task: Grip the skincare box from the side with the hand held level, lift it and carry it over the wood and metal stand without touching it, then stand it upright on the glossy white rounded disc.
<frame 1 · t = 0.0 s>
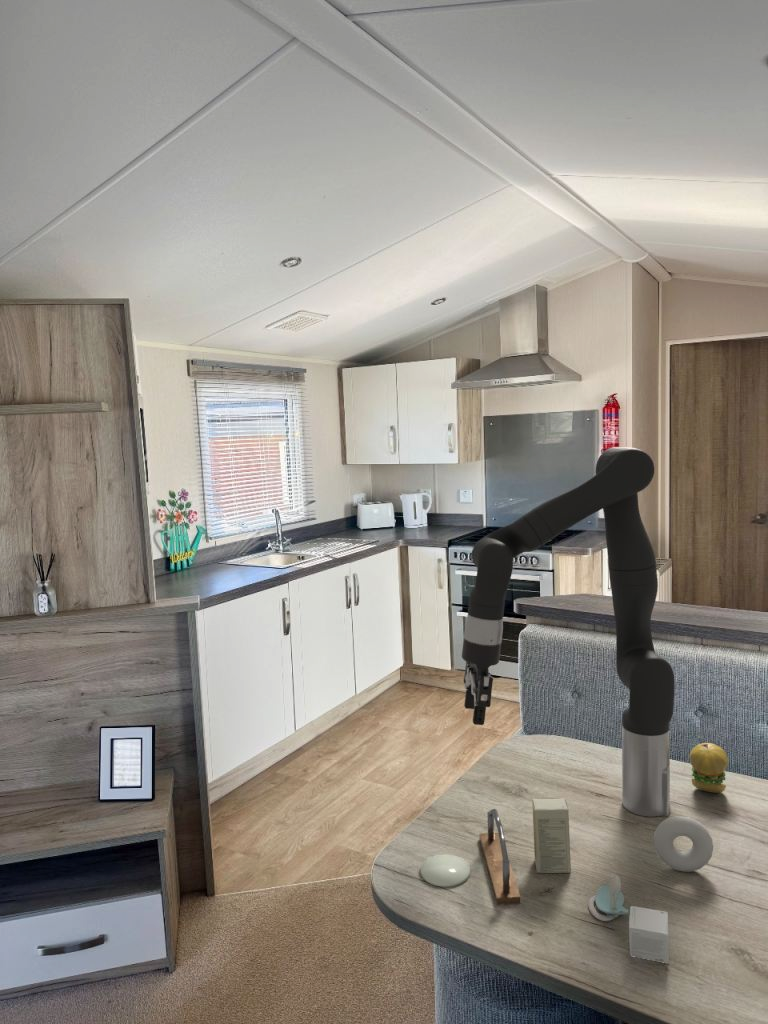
hand: (473, 715, 150), 22 cm above the table, tool pointing down, fingers open, 8 cm apart
glossy white rounded disc: (445, 871, 135), on the table
hamburger: (708, 794, 159), on the table
pacifier: (607, 912, 123), on the table
wood and metal stand: (498, 869, 135), on the table
skincare box: (551, 867, 135), on the table
small box: (649, 950, 113), on the table
donut: (682, 871, 133), on the table
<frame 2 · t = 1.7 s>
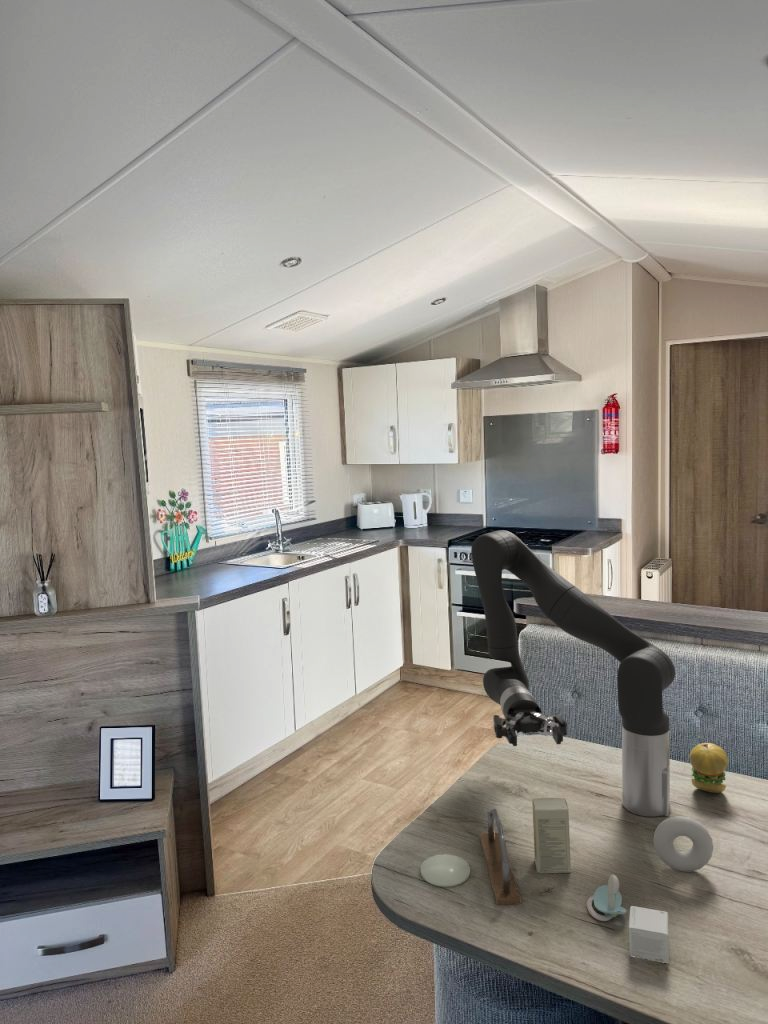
hand: (537, 740, 143), 20 cm above the table, tool horizontal, fingers open, 8 cm apart
nothing on the table moved.
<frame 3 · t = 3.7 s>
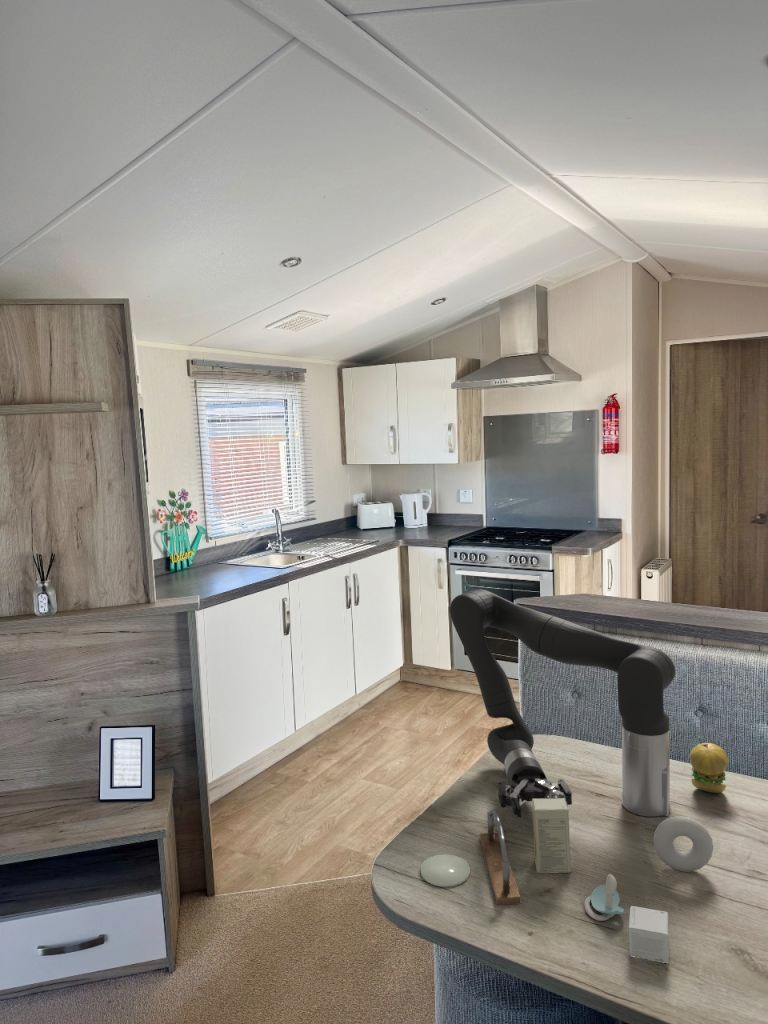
hand: (541, 812, 142), 7 cm above the table, tool horizontal, fingers open, 8 cm apart
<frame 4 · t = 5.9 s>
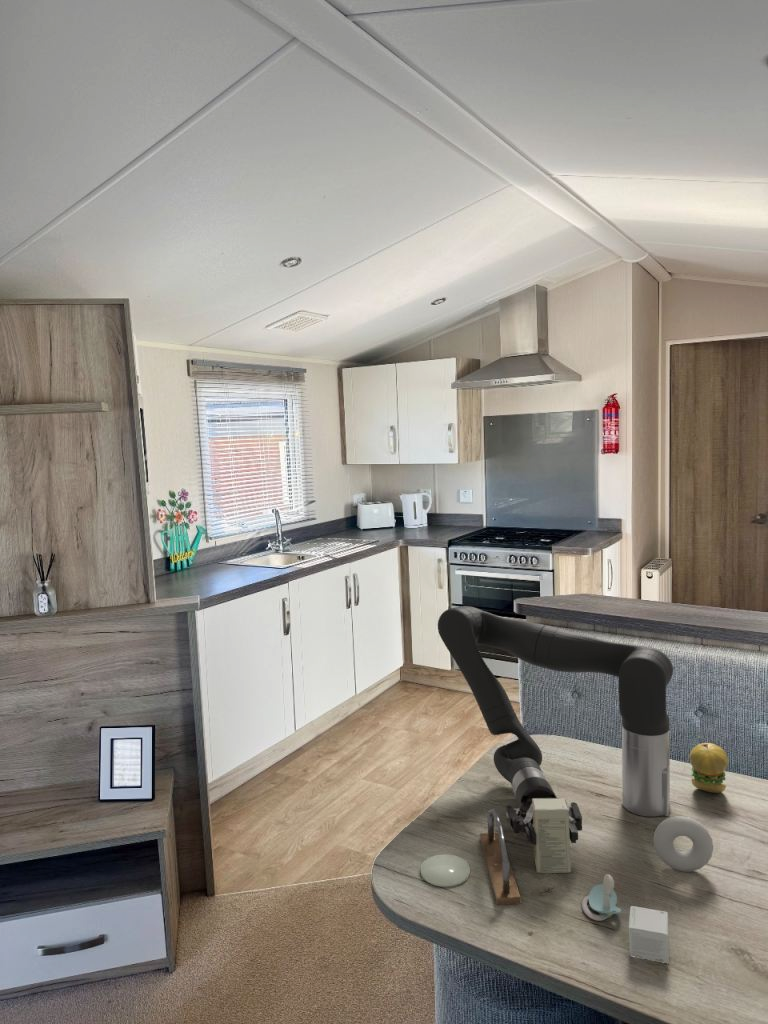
hand: (554, 839, 132), 7 cm above the table, tool horizontal, fingers closed on skincare box, 6 cm apart
skincare box: (551, 867, 135), on the table, touching gripper
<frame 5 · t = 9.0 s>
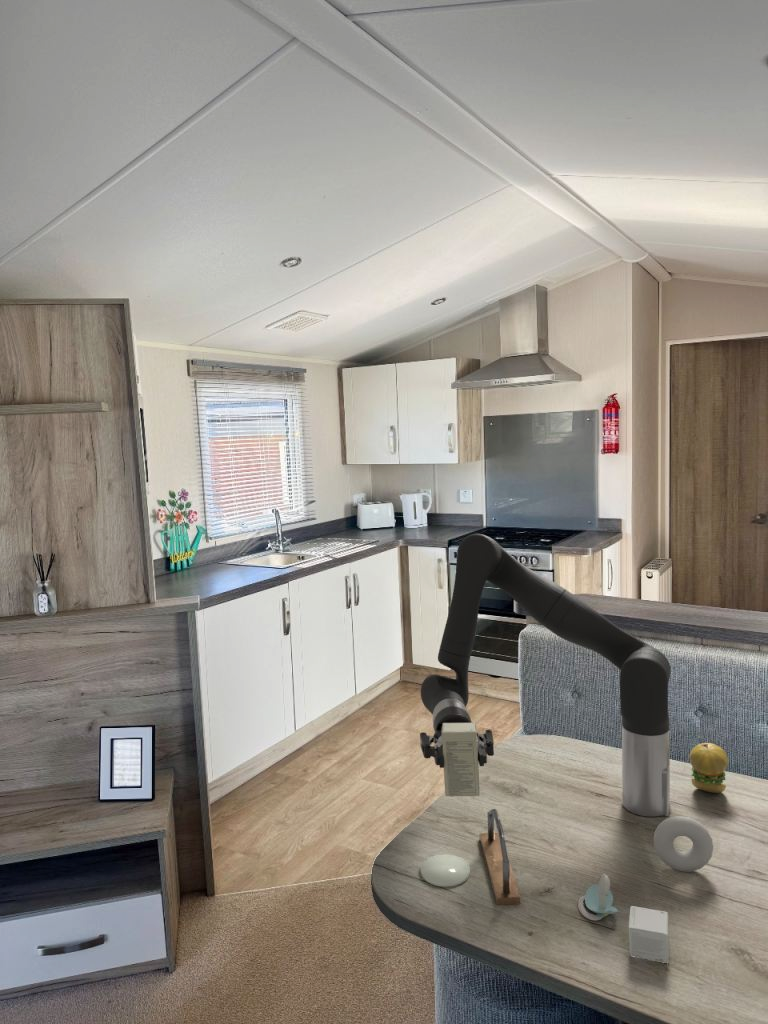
hand: (462, 762, 131), 22 cm above the table, tool horizontal, fingers closed on skincare box, 6 cm apart
skincare box: (461, 792, 134), point 15 cm above the table, touching gripper
when the fingers open (8 cm above the table, at t = 12.6 s): skincare box drops 1 cm, resting on glossy white rounded disc.
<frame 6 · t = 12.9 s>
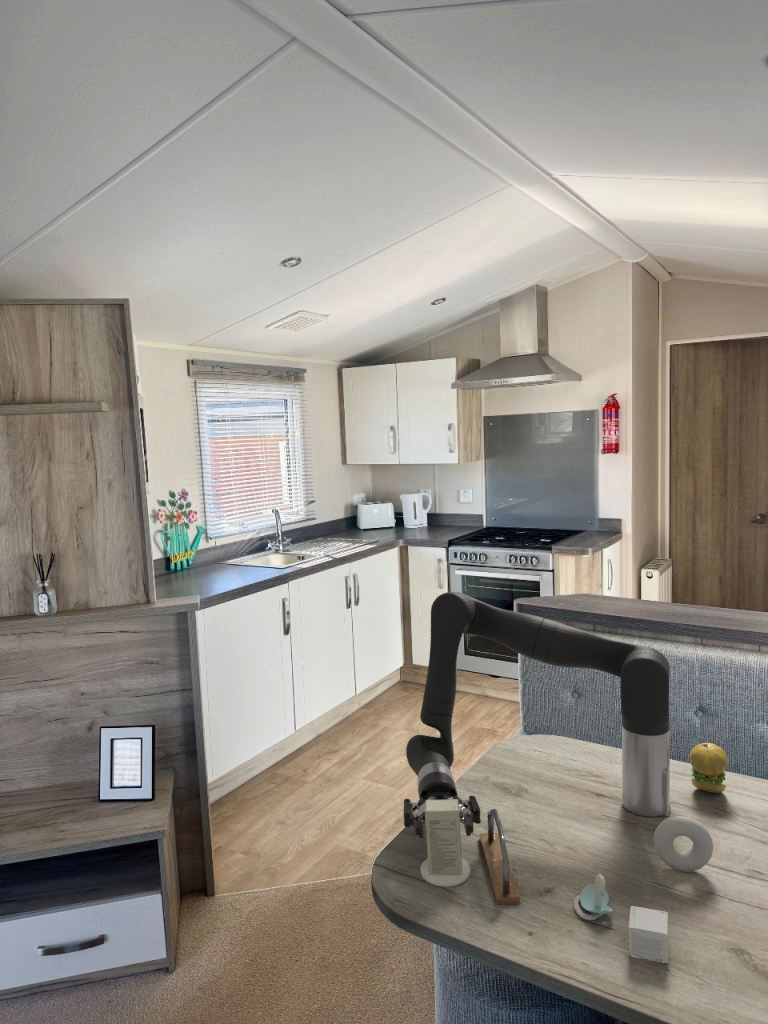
hand: (444, 832, 132), 9 cm above the table, tool horizontal, fingers open, 8 cm apart
skincare box: (444, 869, 135), resting on glossy white rounded disc
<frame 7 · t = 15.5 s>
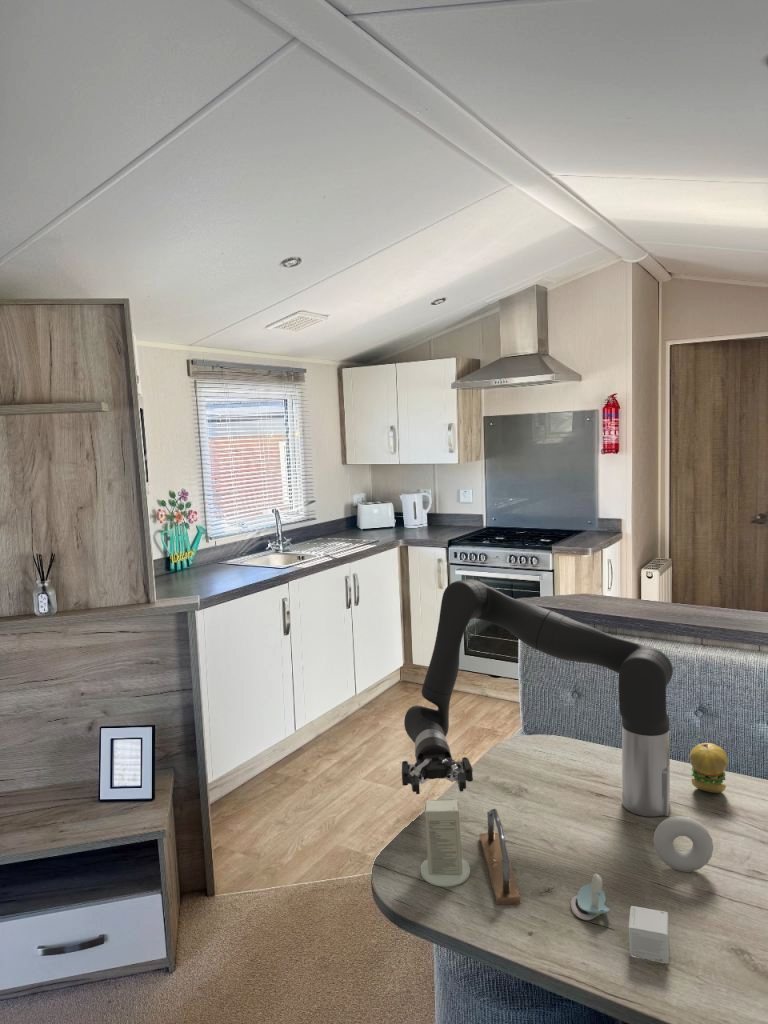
hand: (439, 788, 144), 11 cm above the table, tool horizontal, fingers open, 8 cm apart
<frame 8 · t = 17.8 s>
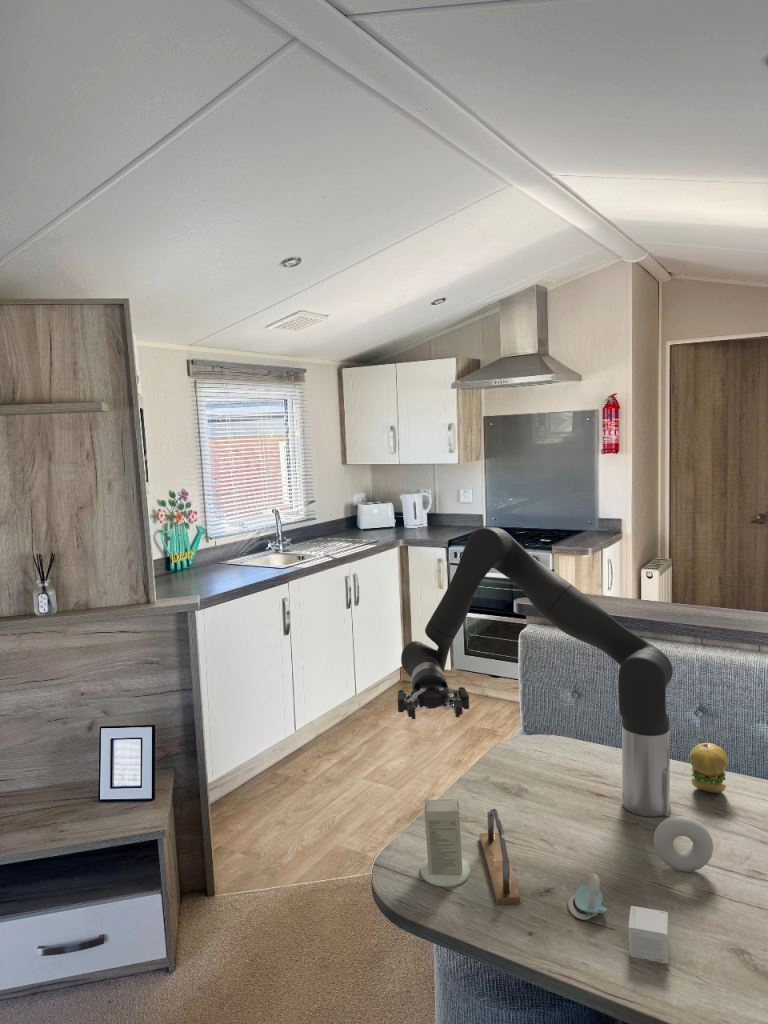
hand: (435, 713, 142), 26 cm above the table, tool horizontal, fingers open, 8 cm apart
at the end: skincare box 0.1 cm off-centre on the glossy white rounded disc, point 0.4 cm above the glossy white rounded disc's base; skincare box tilted 0°; skincare box touching glossy white rounded disc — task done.
